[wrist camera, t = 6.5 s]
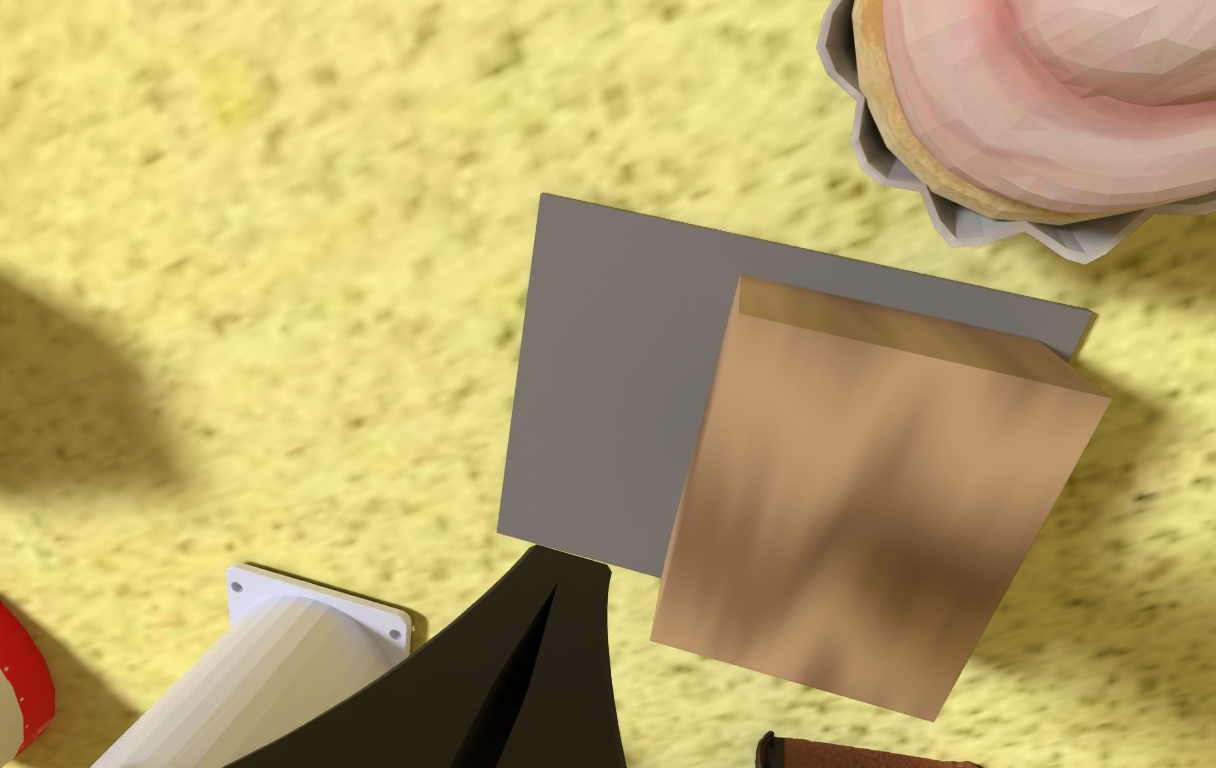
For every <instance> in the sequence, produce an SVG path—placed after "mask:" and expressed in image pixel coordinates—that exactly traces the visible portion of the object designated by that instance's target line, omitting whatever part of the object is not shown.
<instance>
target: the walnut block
mask: <svg viewBox="0 0 1216 768" xmlns="http://www.w3.org/2000/svg"><path fill="white" fill-rule="evenodd" d="M1111 400H1112V398H1111V397H1110V396H1108V395H1107V394H1106V393H1105V392H1103V391H1102V390H1101V389H1100V388H1098V387H1097V386H1096V385H1094V384H1093V383H1092V382H1091V381H1089V380H1088V379H1087V378H1085V377H1084V376H1083V375H1082V374H1080V373H1079V372H1078V371H1077V370H1075V369H1074V368H1073V367H1071V366H1070V365H1069V364H1068V363H1066V362H1065V361H1064V360H1062V359H1061V358H1060V357H1059V356H1057V355H1056V354H1055V353H1054V352H1052V351H1051V350H1050V349H1048V348H1047V347H1046V346H1045V345H1043V344H1042V343H1041V342H1040V341H1038V340H1037V339H1033V338H1029V337H1024V336H1020V335H1015V334H1011V333H1006V332H1001V331H997V330H992V329H988V328H983V327H979V326H974V325H970V324H965V323H961V322H956V321H952V320H947V319H943V318H938V317H934V316H929V315H925V314H920V313H916V312H911V311H906V310H902V309H897V308H893V307H888V306H884V305H879V304H875V303H870V302H866V301H861V300H857V299H852V298H848V297H843V296H839V295H834V294H830V293H825V292H821V291H816V290H811V289H807V288H802V287H798V286H793V285H789V284H784V283H780V282H775V281H771V280H766V279H762V278H757V277H753V276H748V275H744V274H740V278H739V282H738V286H737V289H736V293H735V297H734V301H733V304H732V308H731V312H730V316H729V319H728V323H727V327H726V331H725V335H724V338H723V342H722V346H721V350H720V353H719V357H718V361H717V365H716V368H715V372H714V376H713V380H712V383H711V387H710V391H709V395H708V398H707V402H706V406H705V410H704V414H703V417H702V421H701V425H700V429H699V432H698V436H697V440H696V444H695V447H694V451H693V455H692V459H691V462H690V466H689V470H688V474H687V478H686V481H685V485H684V489H683V493H682V496H681V500H680V504H679V508H678V511H677V515H676V519H675V523H674V526H673V530H672V534H671V538H670V541H669V545H668V549H667V553H666V557H665V562H664V568H663V573H662V578H661V584H660V589H659V595H658V600H657V605H656V611H655V616H654V621H653V627H652V632H651V637H650V641H653V642H657V643H660V644H663V645H667V646H670V647H674V648H677V649H681V650H684V651H688V652H691V653H695V654H698V655H702V656H705V657H709V658H712V659H716V660H719V661H723V662H726V663H729V664H733V665H736V666H740V667H743V668H747V669H750V670H754V671H757V672H761V673H764V674H768V675H771V676H775V677H778V678H782V679H785V680H789V681H792V682H795V683H799V684H802V685H806V686H809V687H813V688H816V689H820V690H823V691H827V692H830V693H834V694H837V695H841V696H844V697H848V698H851V699H855V700H858V701H861V702H865V703H868V704H872V705H875V706H879V707H882V708H886V709H889V710H893V711H896V712H900V713H903V714H907V715H910V716H914V717H917V718H921V719H924V720H927V721H931V722H934V721H935V719H936V717H937V716H938V714H939V712H940V710H941V708H942V707H943V705H944V703H945V701H946V699H947V698H948V696H949V694H950V692H951V690H952V688H953V687H954V685H955V683H956V681H957V679H958V678H959V676H960V674H961V672H962V670H963V669H964V667H965V665H966V663H967V661H968V659H969V658H970V656H971V654H972V652H973V650H974V649H975V647H976V645H977V643H978V641H979V640H980V638H981V636H982V634H983V632H984V630H985V629H986V627H987V625H988V623H989V621H990V620H991V618H992V616H993V614H994V612H995V611H996V609H997V607H998V605H999V603H1000V601H1001V600H1002V598H1003V596H1004V594H1005V592H1006V591H1007V589H1008V587H1009V585H1010V583H1011V582H1012V580H1013V578H1014V576H1015V574H1016V572H1017V571H1018V569H1019V567H1020V565H1021V563H1022V562H1023V560H1024V558H1025V556H1026V554H1027V553H1028V551H1029V549H1030V547H1031V545H1032V543H1033V542H1034V540H1035V538H1036V536H1037V534H1038V533H1039V531H1040V529H1041V527H1042V525H1043V524H1044V522H1045V520H1046V518H1047V516H1048V514H1049V513H1050V511H1051V509H1052V507H1053V505H1054V504H1055V502H1056V500H1057V498H1058V496H1059V495H1060V493H1061V491H1062V489H1063V487H1064V485H1065V484H1066V482H1067V480H1068V478H1069V476H1070V475H1071V473H1072V471H1073V469H1074V467H1075V466H1076V464H1077V462H1078V460H1079V458H1080V456H1081V455H1082V453H1083V451H1084V449H1085V447H1086V446H1087V444H1088V442H1089V440H1090V438H1091V437H1092V435H1093V433H1094V431H1095V429H1096V427H1097V426H1098V424H1099V422H1100V420H1101V418H1102V417H1103V415H1104V413H1105V411H1106V409H1107V408H1108V406H1109V404H1110V402H1111Z"/></svg>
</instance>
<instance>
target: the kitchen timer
mask: <svg viewBox="0 0 1216 768" xmlns="http://www.w3.org/2000/svg"><path fill="white" fill-rule="evenodd" d="M54 705H55V689H54V686H53V683H52V680H51V677H50V674H49V671H48V668H47V665H46V662H45V660H44V659H43V657H42V655H41V654H40V652H39V650H38V649H37V647H36V645H35V644H34V642H33V641H32V639H31V637H30V636H29V634H28V632H27V631H26V629H25V628H24V627H23V626H22V625H21V624H20V623H19V622H18V620H17V619H16V618H15V617H14V616H13V615H12V614H11V613H10V611H9V610H8V609H7V608H6V607H5V606H4V605H3V604H2V602H1V601H0V768H2V767H3V766H4V765H6V764H7V763H8V762H10V761H11V760H12V759H14V758H15V757H16V756H17V755H18V754H19V753H20V752H22V751H23V750H24V749H25V748H26V747H27V746H28V745H30V744H31V743H32V742H33V741H34V740H35V739H36V738H38V737H39V736H40V735H41V734H42V733H43V732H44V731H45V730H46V728H47V726H48V724H49V723H50V721H51V719H52V717H53V716H54Z"/></svg>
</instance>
